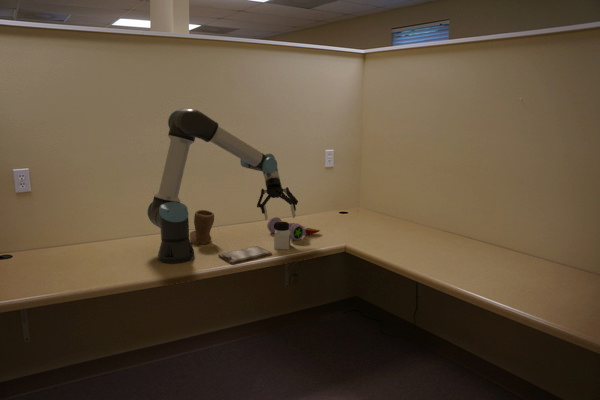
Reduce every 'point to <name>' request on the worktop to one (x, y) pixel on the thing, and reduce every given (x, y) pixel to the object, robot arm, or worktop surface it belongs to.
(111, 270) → the worktop surface
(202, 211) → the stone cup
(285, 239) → the medicine bottle
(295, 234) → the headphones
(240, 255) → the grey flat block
